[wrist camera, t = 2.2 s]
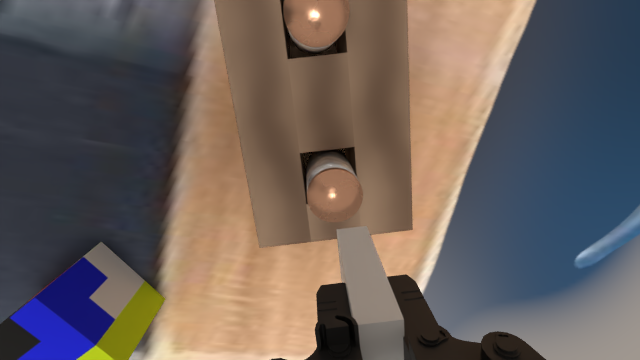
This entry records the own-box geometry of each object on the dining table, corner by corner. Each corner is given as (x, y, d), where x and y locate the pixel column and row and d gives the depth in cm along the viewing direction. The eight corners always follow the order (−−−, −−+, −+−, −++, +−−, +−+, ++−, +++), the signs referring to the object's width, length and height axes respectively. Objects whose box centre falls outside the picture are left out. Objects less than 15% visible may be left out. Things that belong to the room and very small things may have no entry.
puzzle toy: (101, 241, 38) (34, 297, 29) (165, 298, 41) (123, 367, 31) (42, 288, 40) (-40, 356, 30) (108, 341, 42) (51, 418, 33)
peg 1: (292, 56, 28) (288, 50, 21) (285, 2, 27) (278, -23, 20) (339, 50, 28) (352, 43, 21) (335, -3, 27) (346, -31, 20)
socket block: (268, 212, 38) (259, 247, 30) (227, -28, 31) (202, -61, 23) (390, 198, 38) (412, 229, 31) (379, -45, 31) (404, -83, 23)
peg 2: (308, 191, 32) (310, 225, 24) (303, 149, 30) (303, 173, 23) (350, 186, 32) (364, 219, 24) (347, 144, 30) (361, 166, 23)
